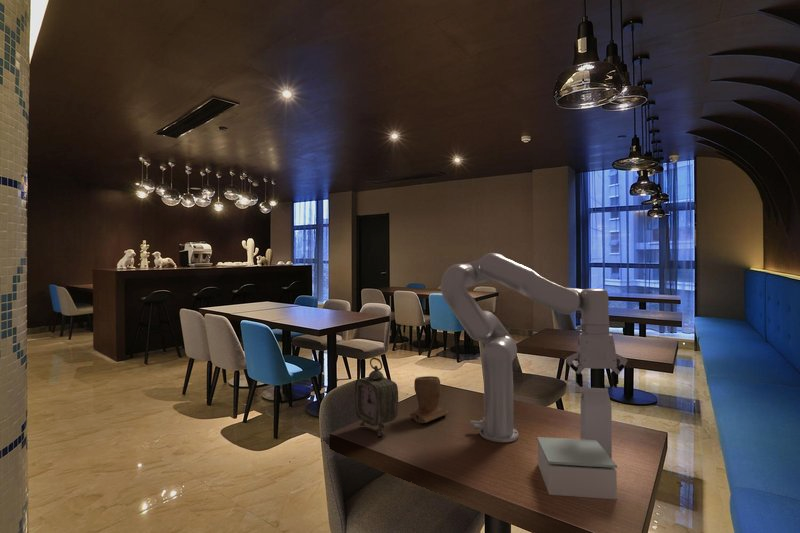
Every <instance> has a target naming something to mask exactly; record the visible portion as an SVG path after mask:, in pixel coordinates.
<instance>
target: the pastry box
mask: <svg viewBox="0 0 800 533" xmlns="http://www.w3.org/2000/svg"><path fill="white" fill-rule="evenodd" d="M537 467H538V468H539V471H540V474H541V477H542V479H543V482H544V484H545V487H546V491H547V493H548V495H551V496H552V495H553V496H565V497H577V498H578V497H579V498H590V499H591V498H593V499H604V500H605V499H606V500H607V499H608V500H617V499H618V497H617V493H618V492H617V491H618V490H617V478H618V477H617V468H610V467H593V466H577V465H566V466H562V465H559V464H548V462H547V460H546V457H545V455H544V453H543V451H542V449H541V446H540V444H539V442H538V441H537Z"/></svg>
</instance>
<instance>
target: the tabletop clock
mask: <svg viewBox="0 0 800 533" xmlns="http://www.w3.org/2000/svg"><path fill="white" fill-rule="evenodd" d="M373 360H375V361H378V363H379V364H380V367H379V368H378V365H374V366H373V364H372V361H373ZM369 364H370V367H371V369H373V370H372V371H371V372H370V373H369V375H368V377H363V378H358V379H356V380H355V384H354V406H355V407H354V409H355V413H356V416H357V418H359V420H361V421H362V422H360V423H359V426H360V427H361V426H364V427H365V423H366V424H367V425H369V426H373V427H376V426H378V428H379V429H378V432H377V437H379V436H381V437H382V436H383V432H382V429H381V428H383V429H384V428H385V425H384V424H387V423H390V422H393V421H395V420H396V418H397V417H398V415H399V388H398V385H397V383H396V382H395V381H393V380H391V379H388V378H387V377H384V373H382V372H381V370H382V369H383V363H382V361H381V359H380V358H378V357H371V358H370V360H369Z"/></svg>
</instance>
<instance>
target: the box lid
mask: <svg viewBox="0 0 800 533" xmlns="http://www.w3.org/2000/svg"><path fill="white" fill-rule="evenodd" d="M536 439H537V443H538V442H539V444H540V446H541V449H542V451H543V453H544V455H545V457H546V460H547V462H548V464H561V465H577V466H593V467H610V468H615V469H618V465H617V464H616V462H615V461H614V460H613V459H612V457H611V456H609V455H608V454H607V453H606V451H605V450H604V449H603V448H602V447H601V445H600V444H599V443H598V442H597V440H584V439H581V438H580V439H579V438H564V437H542V436H537V438H536Z"/></svg>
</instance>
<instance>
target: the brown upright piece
mask: <svg viewBox="0 0 800 533" xmlns="http://www.w3.org/2000/svg"><path fill="white" fill-rule="evenodd" d="M413 387H414V392H415V396H416V399H417V403H418V404H417V405H418V408H417V410H415V411H414V412H412V413H410V414H409V416H410V417H411V418H412V419H413V420H414V421H415V422H417V423H419V424H425V423H426V424H427V423H429V422H431V421H433V420H436V419H439V418H442V417H443V416H446V415H447V414H448V413H449V410H447V409H445V408H443V407H441V406H440V405H439V404H440V397H441V394H442V386H441V380H440V378H439V377H438V376H433V375H432V376H431V375H429V376H428V375H426V376H418V377H416V378H414V386H413Z"/></svg>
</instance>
